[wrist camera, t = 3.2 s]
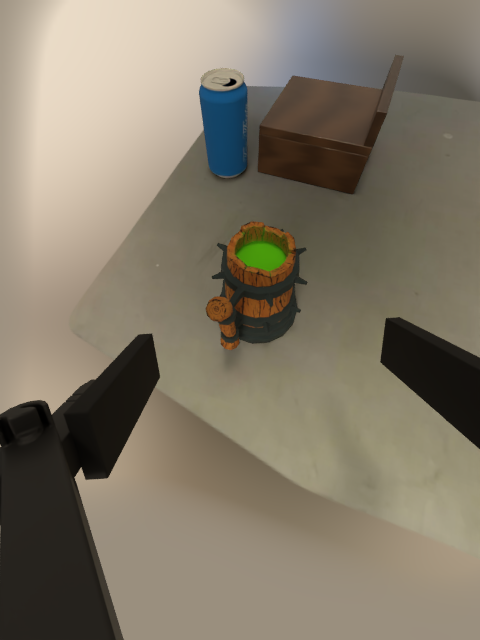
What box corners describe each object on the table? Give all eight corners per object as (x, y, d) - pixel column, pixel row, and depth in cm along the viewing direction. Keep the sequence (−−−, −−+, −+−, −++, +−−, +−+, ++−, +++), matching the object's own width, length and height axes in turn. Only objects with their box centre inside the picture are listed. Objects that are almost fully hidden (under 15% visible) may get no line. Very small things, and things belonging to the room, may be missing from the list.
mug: (241, 262, 35) (239, 185, 24) (311, 294, 32) (342, 222, 22) (186, 340, 30) (154, 284, 20) (263, 383, 27) (273, 346, 17)
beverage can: (239, 184, 42) (236, 94, 31) (203, 176, 43) (189, 86, 32) (252, 161, 44) (254, 70, 34) (218, 154, 46) (209, 64, 35)
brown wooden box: (257, 171, 43) (260, 90, 33) (286, 122, 50) (296, 41, 40) (352, 194, 40) (387, 112, 30) (370, 138, 47) (404, 55, 37)
